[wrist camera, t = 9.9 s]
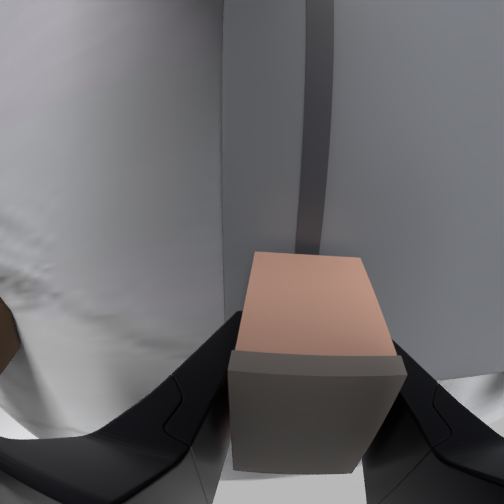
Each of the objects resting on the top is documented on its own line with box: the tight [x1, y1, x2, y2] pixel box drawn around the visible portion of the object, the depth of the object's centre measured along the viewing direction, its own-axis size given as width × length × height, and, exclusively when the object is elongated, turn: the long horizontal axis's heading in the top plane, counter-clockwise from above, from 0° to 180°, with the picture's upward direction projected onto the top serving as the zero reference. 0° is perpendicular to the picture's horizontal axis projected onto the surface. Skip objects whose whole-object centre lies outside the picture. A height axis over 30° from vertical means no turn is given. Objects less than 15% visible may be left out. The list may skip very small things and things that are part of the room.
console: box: [221, 0, 504, 380], centre depth 8 cm, size 18×19×2 cm
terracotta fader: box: [228, 251, 407, 474], centre depth 8 cm, size 4×3×4 cm
